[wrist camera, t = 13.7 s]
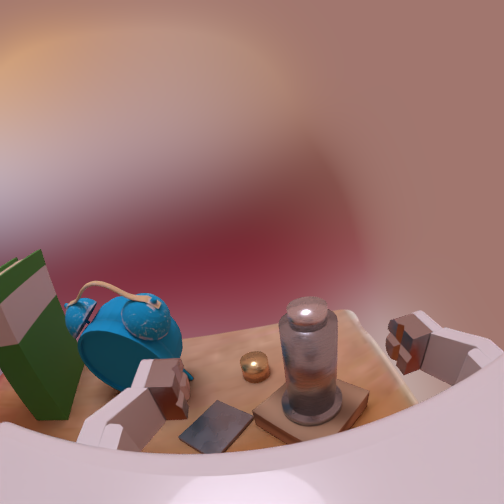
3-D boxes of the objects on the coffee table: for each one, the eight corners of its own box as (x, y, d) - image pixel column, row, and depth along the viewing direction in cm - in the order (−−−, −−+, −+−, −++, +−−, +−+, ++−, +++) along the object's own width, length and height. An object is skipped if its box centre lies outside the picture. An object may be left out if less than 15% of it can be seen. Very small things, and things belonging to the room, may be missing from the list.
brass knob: (256, 387, 36) (253, 372, 35) (238, 375, 39) (234, 361, 38) (275, 372, 38) (272, 357, 37) (256, 362, 41) (253, 348, 40)
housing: (318, 436, 23) (317, 339, 19) (269, 409, 28) (251, 314, 24) (352, 395, 27) (359, 297, 23) (306, 376, 32) (299, 283, 28)
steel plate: (216, 463, 24) (214, 459, 24) (181, 441, 28) (178, 436, 27) (254, 420, 30) (253, 415, 30) (219, 405, 34) (217, 399, 33)
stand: (320, 462, 22) (321, 451, 21) (255, 424, 29) (252, 410, 28) (366, 405, 28) (369, 391, 27) (305, 380, 35) (304, 365, 34)
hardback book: (59, 363, 43) (13, 258, 36) (86, 359, 45) (40, 249, 38) (37, 420, 27) (-37, 292, 20) (68, 419, 29) (-9, 282, 22)
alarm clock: (206, 368, 41) (172, 252, 35) (193, 415, 31) (140, 284, 25) (122, 366, 43) (80, 266, 37) (98, 404, 33) (39, 294, 27)
